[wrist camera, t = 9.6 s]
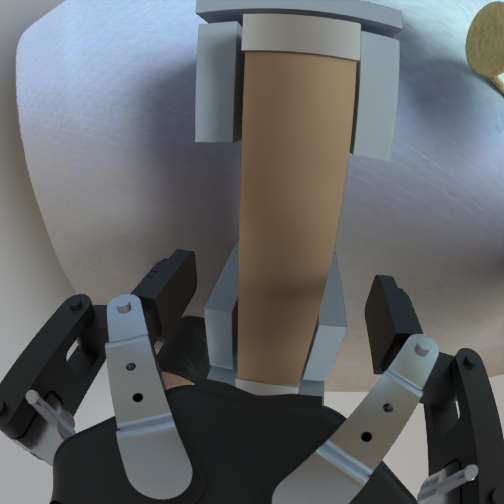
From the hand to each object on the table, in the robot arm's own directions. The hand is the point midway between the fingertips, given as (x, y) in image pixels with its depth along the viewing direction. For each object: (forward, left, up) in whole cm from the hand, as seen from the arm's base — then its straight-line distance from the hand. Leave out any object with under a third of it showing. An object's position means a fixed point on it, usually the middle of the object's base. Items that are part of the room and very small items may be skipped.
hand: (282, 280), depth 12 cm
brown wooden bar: (0, 0, -6) cm, 6 cm away
